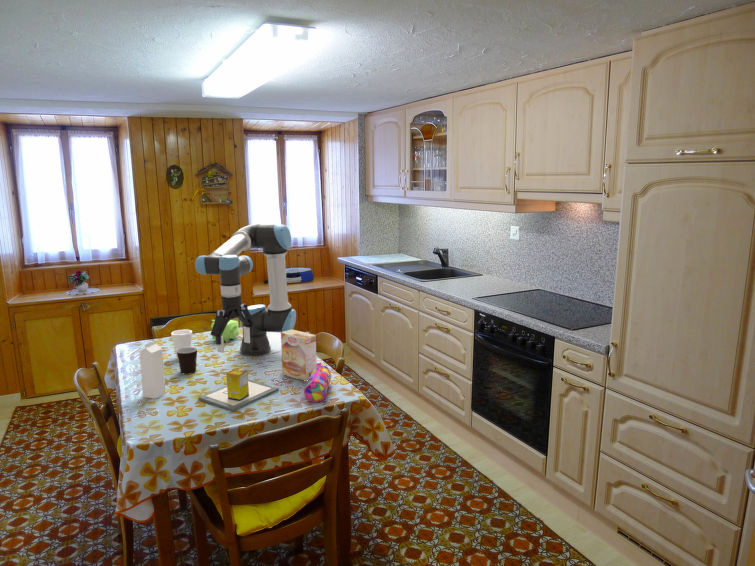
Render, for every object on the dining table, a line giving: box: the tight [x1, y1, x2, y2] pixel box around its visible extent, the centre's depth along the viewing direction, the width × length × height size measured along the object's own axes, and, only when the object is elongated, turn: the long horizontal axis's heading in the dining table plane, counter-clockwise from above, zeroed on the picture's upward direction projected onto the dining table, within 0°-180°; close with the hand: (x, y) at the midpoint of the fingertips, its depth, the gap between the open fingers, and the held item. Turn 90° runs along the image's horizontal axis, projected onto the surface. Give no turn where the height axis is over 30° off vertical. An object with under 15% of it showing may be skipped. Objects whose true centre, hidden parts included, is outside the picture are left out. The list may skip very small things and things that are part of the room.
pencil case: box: [303, 362, 332, 403], centre depth 212 cm, size 22×9×9 cm, turn 2°
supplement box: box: [225, 367, 249, 401], centre depth 204 cm, size 6×6×11 cm
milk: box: [139, 340, 167, 400], centre depth 208 cm, size 6×6×22 cm
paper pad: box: [197, 378, 280, 412], centre depth 211 cm, size 24×20×1 cm
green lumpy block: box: [211, 319, 240, 343], centre depth 284 cm, size 15×14×11 cm
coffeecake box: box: [280, 328, 317, 382], centre depth 229 cm, size 15×7×20 cm, turn 53°
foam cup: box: [170, 329, 193, 360], centre depth 253 cm, size 10×9×13 cm
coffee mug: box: [177, 346, 198, 375], centre depth 237 cm, size 12×9×10 cm
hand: (234, 347), depth 209 cm, fingers open, 13 cm apart
